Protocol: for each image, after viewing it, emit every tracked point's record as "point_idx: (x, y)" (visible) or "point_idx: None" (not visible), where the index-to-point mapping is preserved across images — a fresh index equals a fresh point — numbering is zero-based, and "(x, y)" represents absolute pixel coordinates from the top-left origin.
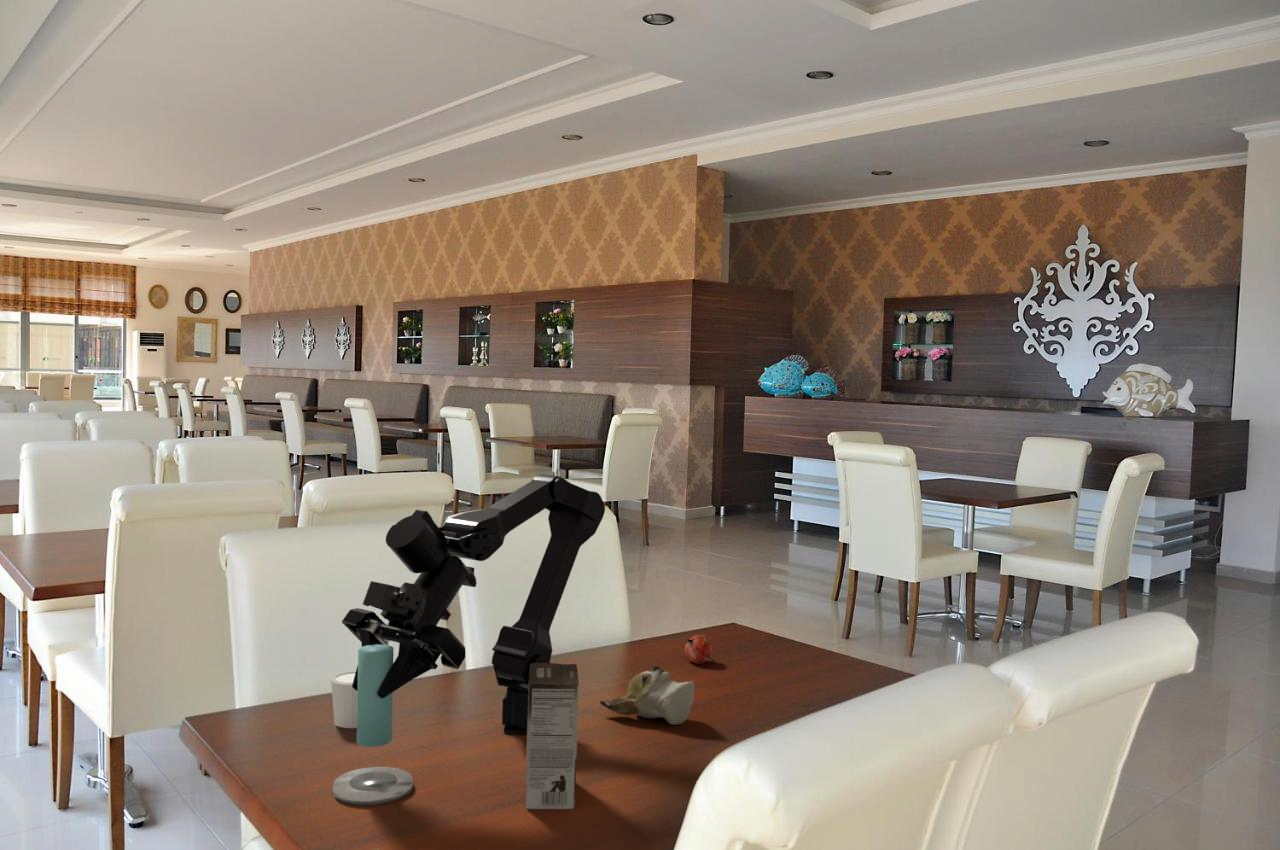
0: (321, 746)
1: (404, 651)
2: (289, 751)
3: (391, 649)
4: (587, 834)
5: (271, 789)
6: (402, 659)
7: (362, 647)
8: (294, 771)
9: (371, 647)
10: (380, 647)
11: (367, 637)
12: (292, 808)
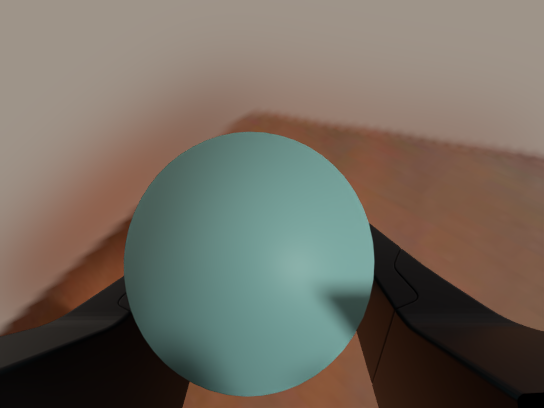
0: (510, 301)
1: (31, 335)
2: (524, 250)
3: (148, 322)
4: (25, 322)
5: (391, 155)
6: (89, 306)
7: (345, 206)
8: (431, 208)
9: (295, 253)
10: (249, 304)
11: (503, 361)
12: (317, 144)
